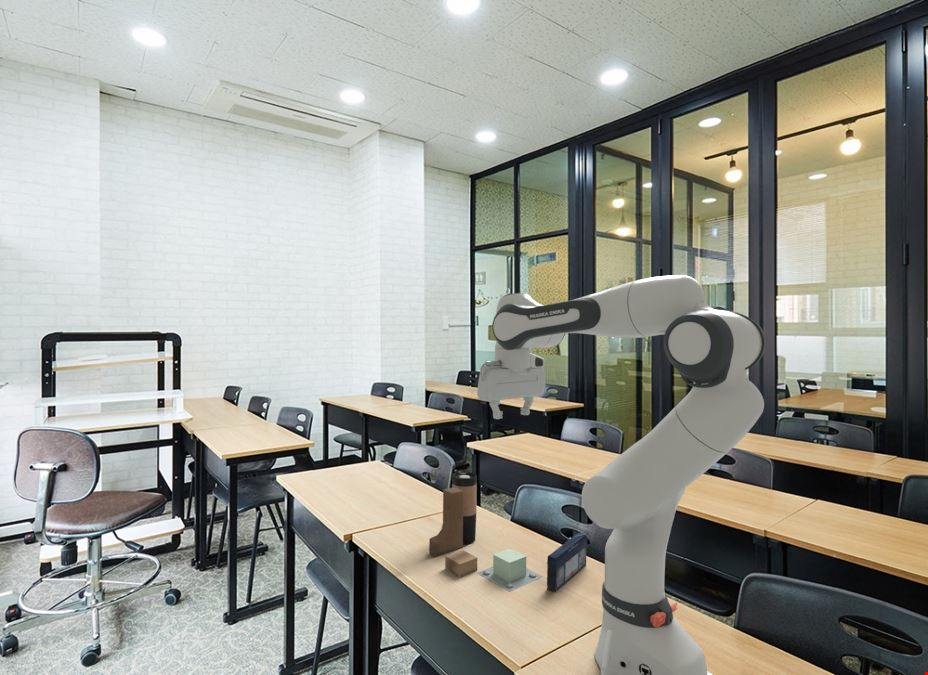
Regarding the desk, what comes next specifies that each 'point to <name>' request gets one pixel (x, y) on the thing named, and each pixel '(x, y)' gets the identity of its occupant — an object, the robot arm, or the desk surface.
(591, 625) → the desk surface
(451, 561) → the walnut brick
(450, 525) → the wooden block
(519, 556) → the green brick
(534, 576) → the base plate
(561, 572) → the vhs cassette tape
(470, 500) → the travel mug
